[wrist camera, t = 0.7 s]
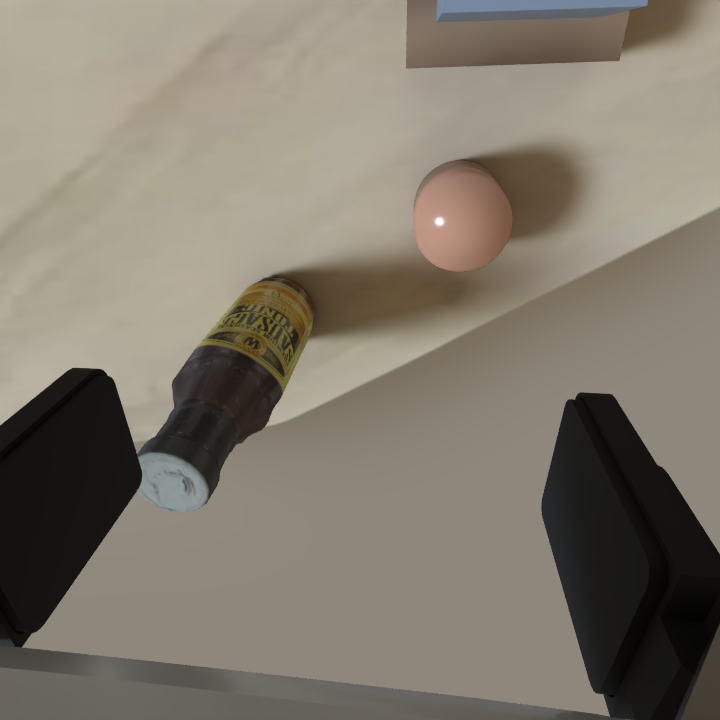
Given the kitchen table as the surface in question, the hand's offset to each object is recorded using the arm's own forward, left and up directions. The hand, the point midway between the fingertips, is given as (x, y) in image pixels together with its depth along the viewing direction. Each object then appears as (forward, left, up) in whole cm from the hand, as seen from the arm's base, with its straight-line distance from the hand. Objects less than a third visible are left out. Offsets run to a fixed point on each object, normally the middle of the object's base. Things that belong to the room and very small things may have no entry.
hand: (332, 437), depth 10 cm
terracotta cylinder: (+2, +5, -28) cm, 28 cm away
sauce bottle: (+10, -9, -28) cm, 31 cm away
